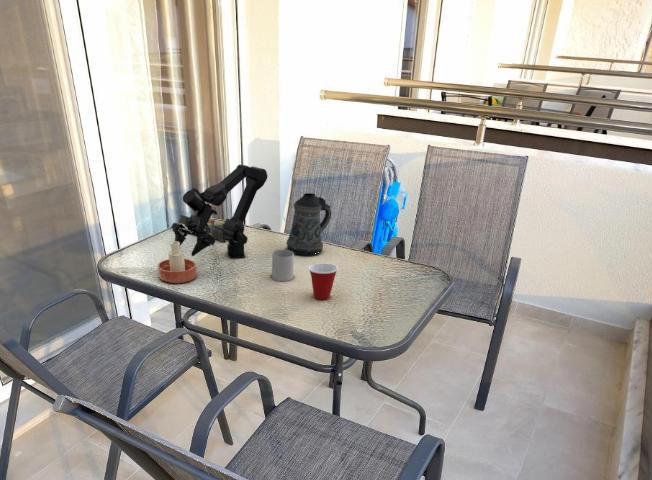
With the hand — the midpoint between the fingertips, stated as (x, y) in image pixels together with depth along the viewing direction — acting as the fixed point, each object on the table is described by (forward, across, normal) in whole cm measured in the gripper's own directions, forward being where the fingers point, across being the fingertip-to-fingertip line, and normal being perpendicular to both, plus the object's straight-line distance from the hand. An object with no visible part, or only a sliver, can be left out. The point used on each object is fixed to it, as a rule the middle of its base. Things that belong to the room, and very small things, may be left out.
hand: (183, 252), depth 195 cm
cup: (-10, +31, +23) cm, 39 cm away
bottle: (+8, 0, +3) cm, 9 cm away
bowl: (+9, 0, +4) cm, 10 cm away
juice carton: (-24, -23, +37) cm, 50 cm away
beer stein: (-33, +20, +46) cm, 60 cm away
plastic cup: (-6, +53, +18) cm, 56 cm away
